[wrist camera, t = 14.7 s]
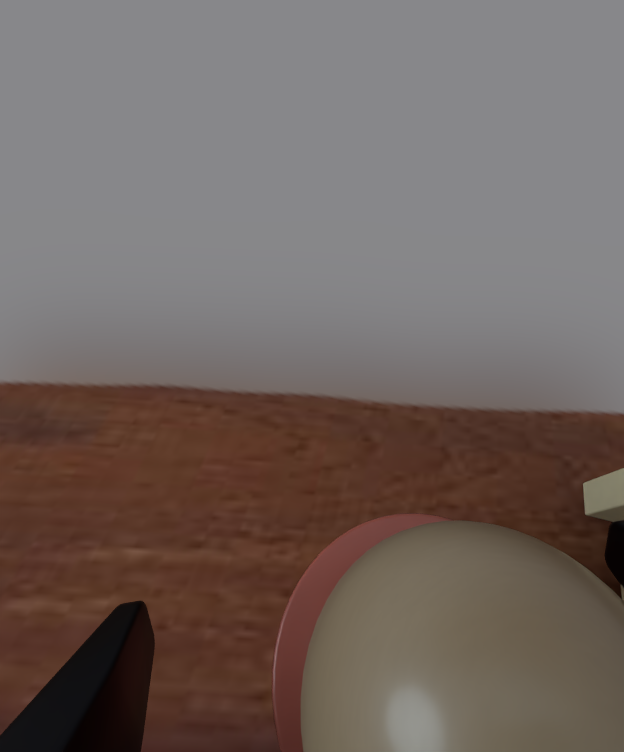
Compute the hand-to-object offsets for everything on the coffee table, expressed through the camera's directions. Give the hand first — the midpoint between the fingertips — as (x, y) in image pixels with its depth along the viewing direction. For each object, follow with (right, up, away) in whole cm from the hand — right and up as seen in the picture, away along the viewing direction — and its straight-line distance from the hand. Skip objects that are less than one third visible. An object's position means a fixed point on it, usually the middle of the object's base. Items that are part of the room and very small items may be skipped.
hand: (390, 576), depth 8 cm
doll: (0, -5, +6) cm, 8 cm away
